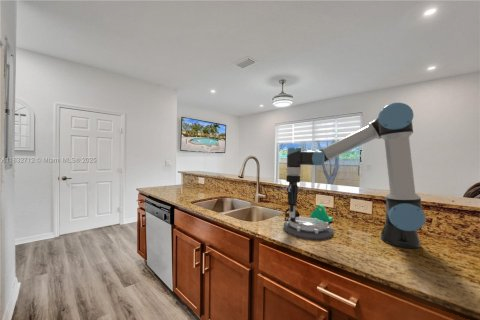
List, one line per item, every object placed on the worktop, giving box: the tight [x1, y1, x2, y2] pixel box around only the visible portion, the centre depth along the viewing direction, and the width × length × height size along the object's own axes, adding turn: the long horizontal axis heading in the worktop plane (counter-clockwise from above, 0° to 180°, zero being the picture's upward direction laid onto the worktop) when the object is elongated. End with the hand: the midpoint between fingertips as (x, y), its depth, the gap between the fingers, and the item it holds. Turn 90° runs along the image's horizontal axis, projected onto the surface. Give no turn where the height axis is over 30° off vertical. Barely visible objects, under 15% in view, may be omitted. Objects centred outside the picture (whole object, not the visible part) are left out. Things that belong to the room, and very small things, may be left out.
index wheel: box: [286, 212, 331, 234], centre depth 113 cm, size 22×22×7 cm
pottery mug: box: [284, 207, 301, 219], centre depth 137 cm, size 12×10×8 cm
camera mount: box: [309, 204, 333, 223], centre depth 133 cm, size 12×8×10 cm, turn 50°
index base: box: [283, 220, 334, 241], centre depth 113 cm, size 26×26×3 cm
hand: (292, 217), depth 114 cm, fingers closed
